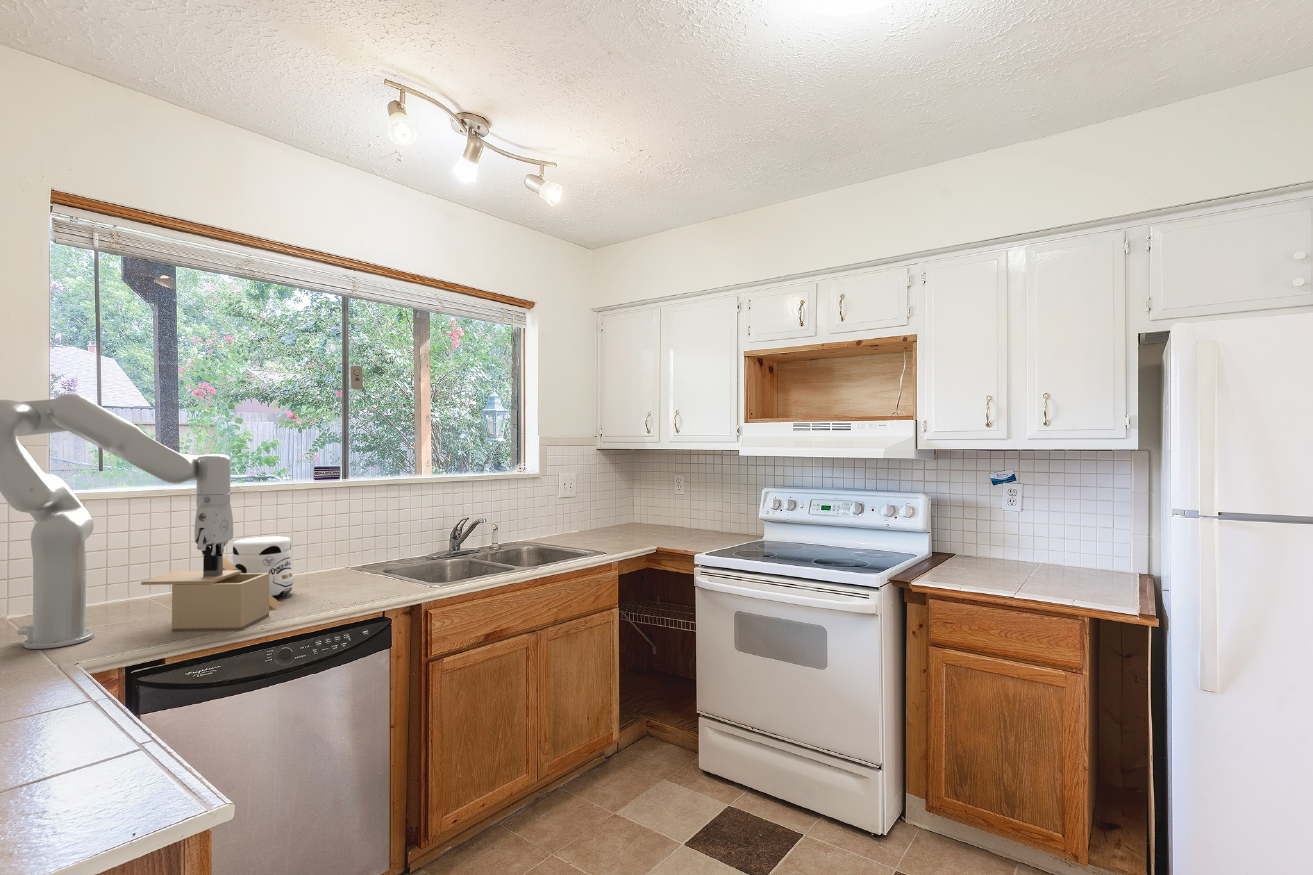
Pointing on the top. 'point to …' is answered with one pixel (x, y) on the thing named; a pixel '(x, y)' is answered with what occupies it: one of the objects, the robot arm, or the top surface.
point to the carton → (221, 603)
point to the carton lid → (193, 576)
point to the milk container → (266, 561)
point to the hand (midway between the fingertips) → (212, 569)
